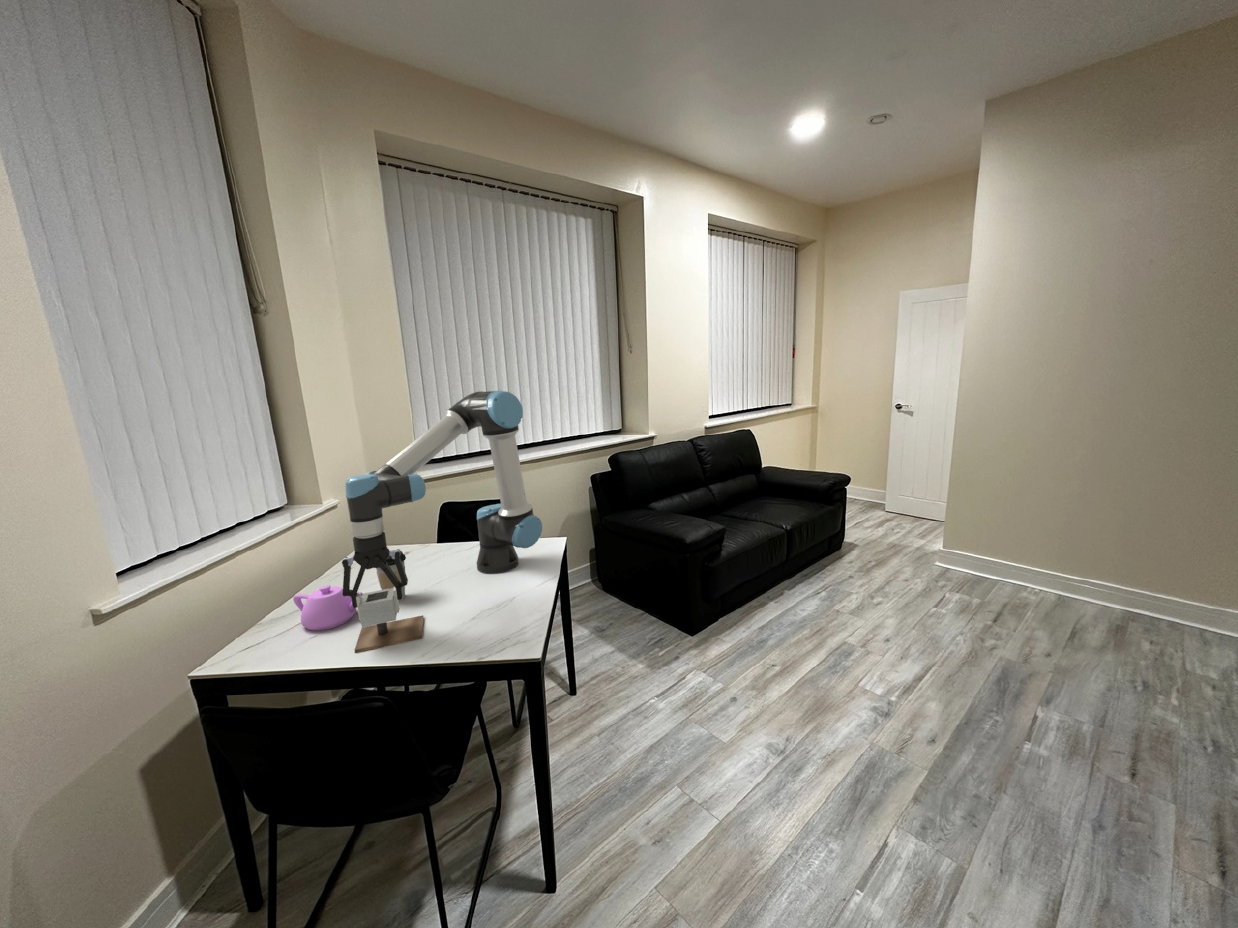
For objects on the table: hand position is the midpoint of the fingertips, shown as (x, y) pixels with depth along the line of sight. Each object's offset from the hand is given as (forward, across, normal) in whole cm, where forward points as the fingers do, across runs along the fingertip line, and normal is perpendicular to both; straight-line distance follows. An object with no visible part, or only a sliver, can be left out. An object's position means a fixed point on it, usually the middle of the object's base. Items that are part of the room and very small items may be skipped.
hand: (380, 613), depth 124 cm
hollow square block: (+1, 0, 0) cm, 1 cm away
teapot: (+7, +15, -16) cm, 23 cm away
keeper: (+6, -2, 0) cm, 7 cm away
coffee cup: (+7, -1, -24) cm, 24 cm away
